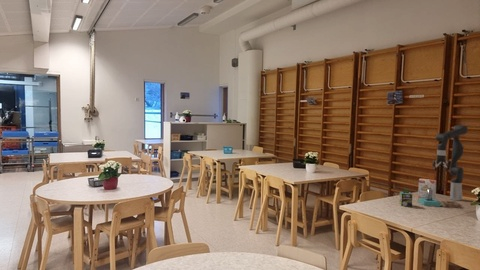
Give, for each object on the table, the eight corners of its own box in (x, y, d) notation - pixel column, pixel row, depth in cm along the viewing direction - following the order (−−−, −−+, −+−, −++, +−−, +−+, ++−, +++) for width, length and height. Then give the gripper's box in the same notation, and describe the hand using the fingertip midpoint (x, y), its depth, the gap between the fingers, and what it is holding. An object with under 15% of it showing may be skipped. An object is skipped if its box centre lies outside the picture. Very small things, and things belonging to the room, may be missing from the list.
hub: (434, 202, 306) (434, 198, 306) (440, 206, 292) (440, 202, 292) (418, 202, 308) (418, 197, 308) (424, 205, 295) (424, 201, 294)
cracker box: (417, 199, 320) (418, 178, 319) (419, 198, 324) (420, 178, 323) (433, 202, 309) (434, 180, 308) (435, 201, 313) (436, 180, 313)
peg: (430, 203, 302) (431, 189, 302) (432, 205, 298) (433, 190, 297) (425, 203, 303) (426, 188, 302) (427, 204, 299) (428, 189, 298)
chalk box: (409, 204, 298) (410, 188, 297) (412, 206, 289) (413, 190, 288) (398, 203, 300) (399, 187, 300) (401, 205, 291) (401, 189, 291)
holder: (454, 204, 301) (454, 201, 301) (461, 208, 289) (461, 204, 289) (440, 203, 303) (440, 200, 303) (446, 207, 291) (446, 203, 291)
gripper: (447, 154, 312) (446, 171, 313) (431, 154, 315) (431, 170, 315) (451, 155, 305) (450, 172, 306) (435, 154, 307) (434, 171, 308)
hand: (440, 171), depth 310 cm, fingers open, 8 cm apart
